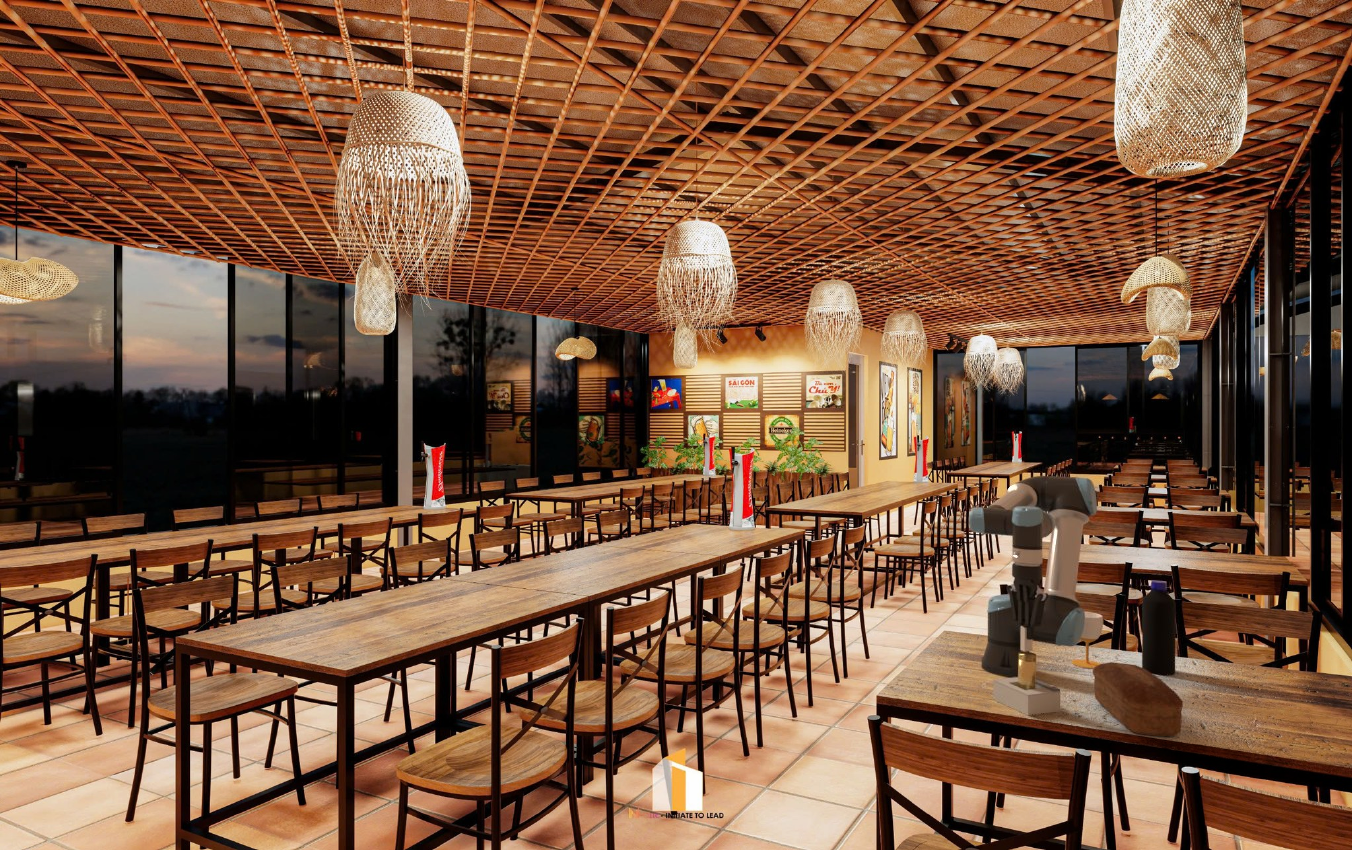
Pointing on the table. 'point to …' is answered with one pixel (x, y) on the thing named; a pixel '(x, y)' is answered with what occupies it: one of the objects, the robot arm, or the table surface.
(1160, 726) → the bread
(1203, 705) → the table surface
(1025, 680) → the golden cylinder
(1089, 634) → the cup
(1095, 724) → the table surface
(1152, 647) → the bottle
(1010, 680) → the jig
